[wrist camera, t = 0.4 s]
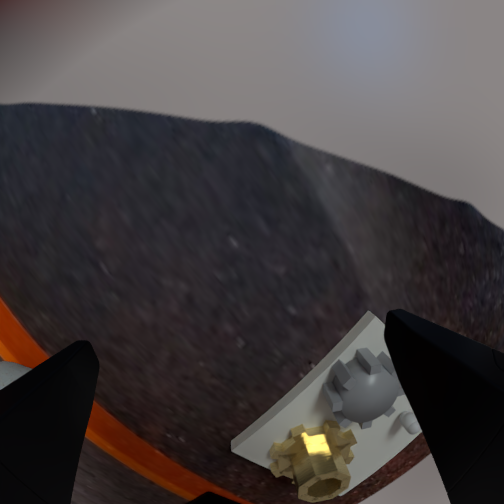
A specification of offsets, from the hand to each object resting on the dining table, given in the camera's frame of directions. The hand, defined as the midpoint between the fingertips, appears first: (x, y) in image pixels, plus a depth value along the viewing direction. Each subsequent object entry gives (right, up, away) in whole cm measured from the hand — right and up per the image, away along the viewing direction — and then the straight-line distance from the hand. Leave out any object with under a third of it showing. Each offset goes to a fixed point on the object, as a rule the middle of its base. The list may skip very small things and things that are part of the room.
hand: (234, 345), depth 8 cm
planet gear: (+6, -17, +17) cm, 25 cm away
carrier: (+11, -15, +18) cm, 26 cm away
